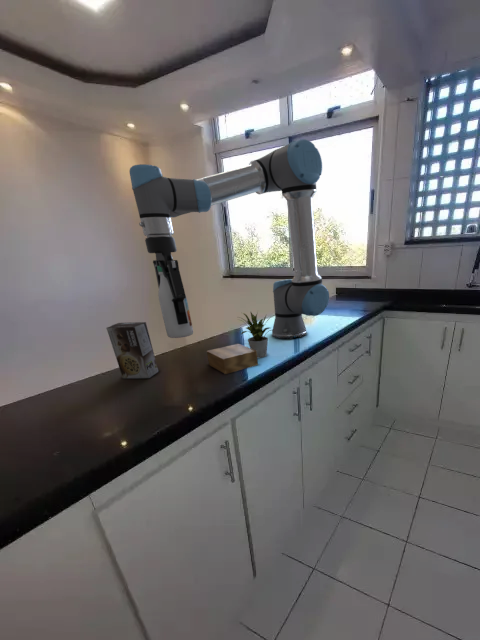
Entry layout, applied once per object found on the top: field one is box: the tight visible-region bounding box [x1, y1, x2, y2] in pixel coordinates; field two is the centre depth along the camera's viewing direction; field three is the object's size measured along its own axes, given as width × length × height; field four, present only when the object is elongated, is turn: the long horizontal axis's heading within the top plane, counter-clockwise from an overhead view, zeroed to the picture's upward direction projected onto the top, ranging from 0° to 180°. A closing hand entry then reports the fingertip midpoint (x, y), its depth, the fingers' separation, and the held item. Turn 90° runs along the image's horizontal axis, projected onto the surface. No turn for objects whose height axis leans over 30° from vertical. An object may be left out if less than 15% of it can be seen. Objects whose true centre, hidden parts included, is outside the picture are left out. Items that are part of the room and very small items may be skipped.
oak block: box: [206, 343, 259, 375], centre depth 103 cm, size 12×12×5 cm
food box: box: [105, 321, 159, 379], centre depth 95 cm, size 9×6×16 cm
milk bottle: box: [157, 266, 194, 339], centre depth 91 cm, size 8×8×20 cm
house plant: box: [237, 311, 275, 359], centre depth 109 cm, size 14×14×16 cm
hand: (177, 321), depth 94 cm, fingers closed on milk bottle, 8 cm apart
